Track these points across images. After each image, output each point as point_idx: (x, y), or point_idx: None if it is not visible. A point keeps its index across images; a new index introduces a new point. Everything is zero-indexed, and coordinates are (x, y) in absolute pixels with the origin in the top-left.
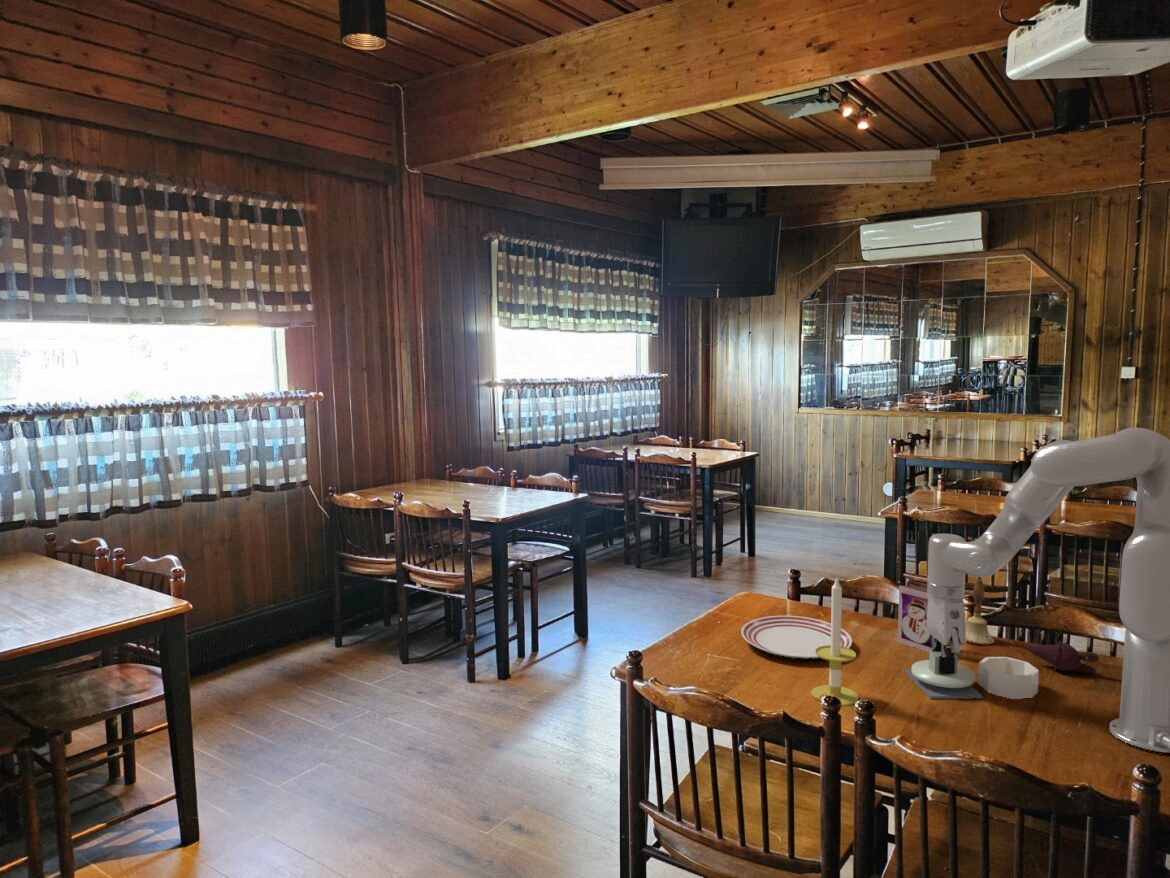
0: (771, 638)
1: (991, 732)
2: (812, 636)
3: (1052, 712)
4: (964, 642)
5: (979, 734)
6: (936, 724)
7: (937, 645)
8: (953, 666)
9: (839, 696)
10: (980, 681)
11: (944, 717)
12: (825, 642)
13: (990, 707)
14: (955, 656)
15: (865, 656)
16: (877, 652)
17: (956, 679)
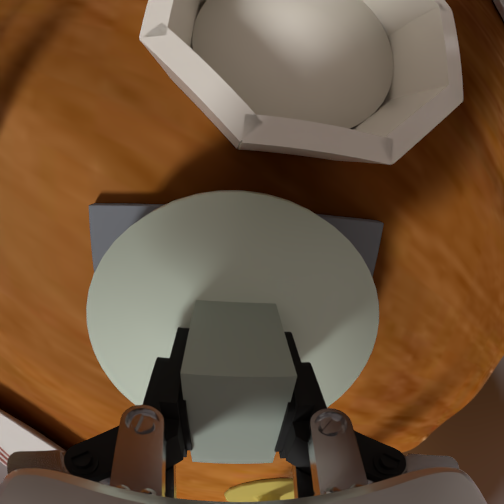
0: None
1: (497, 303)
2: (1, 427)
3: (470, 67)
4: (469, 482)
5: (490, 329)
6: (433, 393)
7: (168, 463)
8: (297, 360)
9: (281, 494)
10: (263, 150)
11: (424, 376)
12: (15, 428)
13: (434, 232)
14: (344, 416)
15: (38, 400)
16: (4, 362)
17: (339, 334)
